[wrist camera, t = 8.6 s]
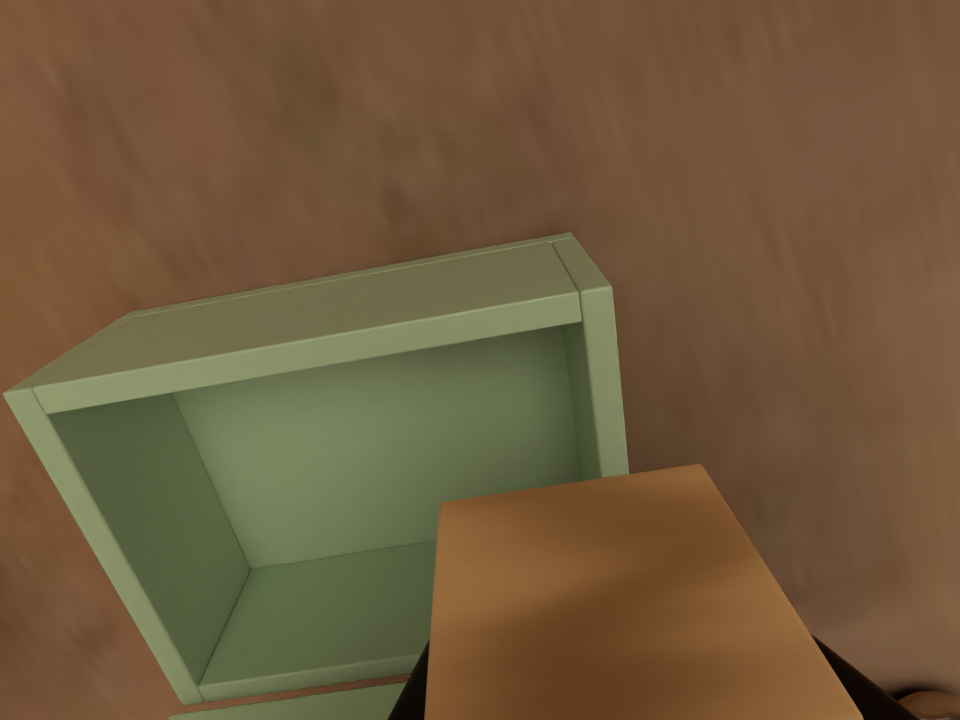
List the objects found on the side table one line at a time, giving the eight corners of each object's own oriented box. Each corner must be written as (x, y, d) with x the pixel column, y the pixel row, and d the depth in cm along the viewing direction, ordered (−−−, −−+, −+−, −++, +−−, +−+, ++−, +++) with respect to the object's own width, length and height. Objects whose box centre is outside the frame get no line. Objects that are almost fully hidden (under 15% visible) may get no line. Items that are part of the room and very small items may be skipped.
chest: (127, 311, 18) (0, 393, 13) (571, 230, 17) (612, 285, 12) (245, 571, 22) (182, 706, 17) (604, 516, 21) (644, 640, 16)
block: (702, 460, 9) (869, 719, 5) (704, 648, 10) (833, 947, 7) (438, 499, 9) (418, 777, 5) (481, 678, 11) (488, 985, 7)
